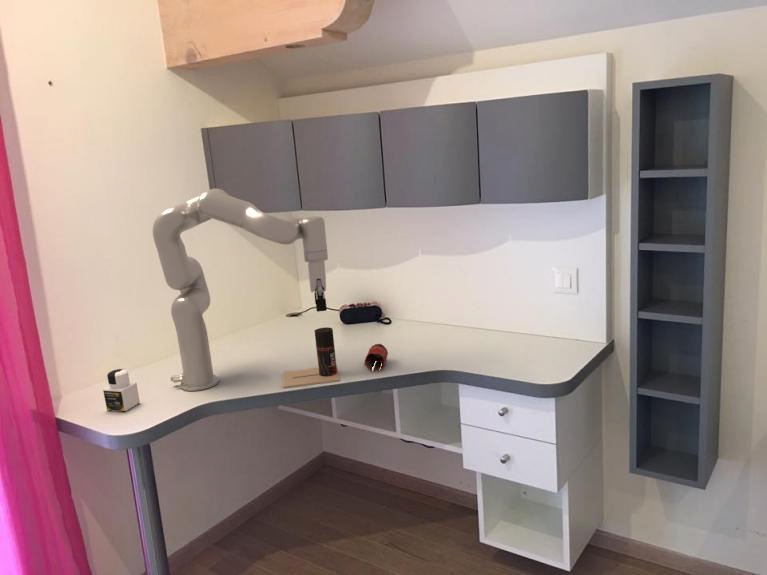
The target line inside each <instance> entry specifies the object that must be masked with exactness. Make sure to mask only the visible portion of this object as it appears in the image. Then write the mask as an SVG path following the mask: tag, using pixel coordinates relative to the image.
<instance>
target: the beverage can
mask: <svg viewBox="0 0 767 575" xmlns="http://www.w3.org/2000/svg"><path fill="white" fill-rule="evenodd" d="M388 354H389V352H388V349H387V348H386V347H385V346H384V345H383V344H381V343H377V344H373V345H372V346H371V347H370V348H369V349H368V352H367V355H366V357H365V359H364V362H363V365H364V367H365V368H367V369H368V371H370V372H372V367H373V366H374V363H375V361H382V366H381V369H380V371H382V370H384V368H385V366H386V365H385V364H386V362H387V358H388ZM380 371H379V372H380Z"/></svg>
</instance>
